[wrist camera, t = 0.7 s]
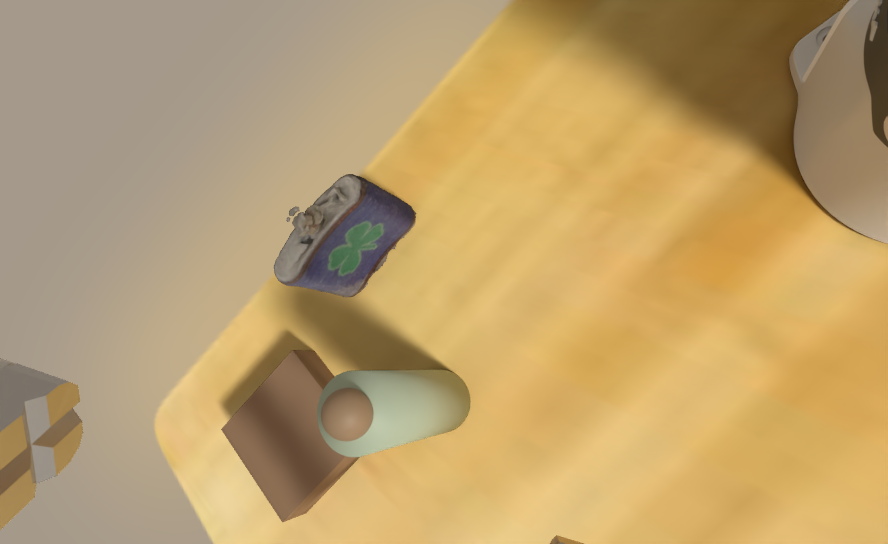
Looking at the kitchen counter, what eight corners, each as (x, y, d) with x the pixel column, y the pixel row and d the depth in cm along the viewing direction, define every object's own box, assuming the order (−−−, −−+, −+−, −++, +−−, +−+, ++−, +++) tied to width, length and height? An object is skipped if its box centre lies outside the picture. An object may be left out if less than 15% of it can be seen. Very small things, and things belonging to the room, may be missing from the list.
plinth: (314, 351, 49) (292, 350, 46) (380, 435, 46) (361, 440, 43) (246, 425, 50) (221, 429, 47) (305, 513, 47) (282, 522, 44)
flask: (352, 304, 48) (268, 287, 38) (330, 281, 49) (243, 259, 40) (424, 216, 47) (356, 176, 37) (399, 195, 48) (328, 150, 38)
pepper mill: (442, 356, 45) (336, 352, 31) (482, 402, 43) (390, 419, 29) (401, 399, 45) (280, 413, 32) (440, 445, 44) (330, 482, 30)
